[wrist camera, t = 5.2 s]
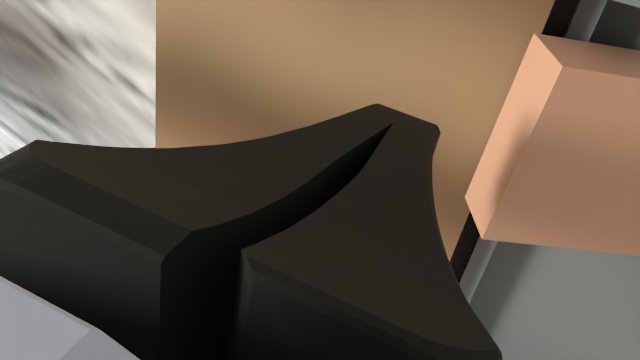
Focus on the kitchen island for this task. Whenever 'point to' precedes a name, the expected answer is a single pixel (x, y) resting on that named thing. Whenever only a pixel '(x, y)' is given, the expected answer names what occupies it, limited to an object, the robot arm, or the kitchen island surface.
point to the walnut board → (344, 73)
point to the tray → (562, 261)
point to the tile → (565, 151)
